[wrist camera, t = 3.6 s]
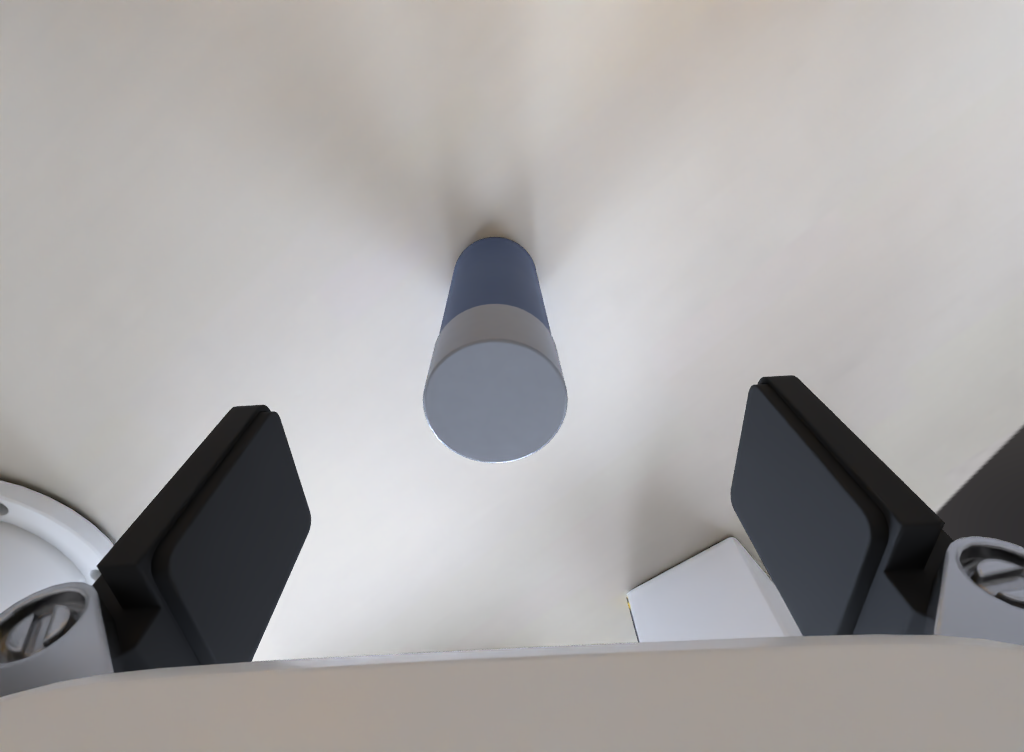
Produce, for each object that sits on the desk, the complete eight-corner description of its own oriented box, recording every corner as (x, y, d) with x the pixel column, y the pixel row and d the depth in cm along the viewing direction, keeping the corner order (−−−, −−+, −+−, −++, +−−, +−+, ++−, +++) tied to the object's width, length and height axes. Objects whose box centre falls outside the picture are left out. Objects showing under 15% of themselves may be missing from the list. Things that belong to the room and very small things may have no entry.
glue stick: (457, 320, 22) (432, 468, 14) (447, 238, 21) (412, 344, 12) (538, 315, 22) (568, 459, 14) (536, 232, 21) (567, 334, 12)
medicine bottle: (622, 591, 31) (690, 853, 20) (732, 531, 29) (871, 787, 18) (684, 650, 33) (772, 908, 23) (788, 599, 31) (938, 856, 21)
